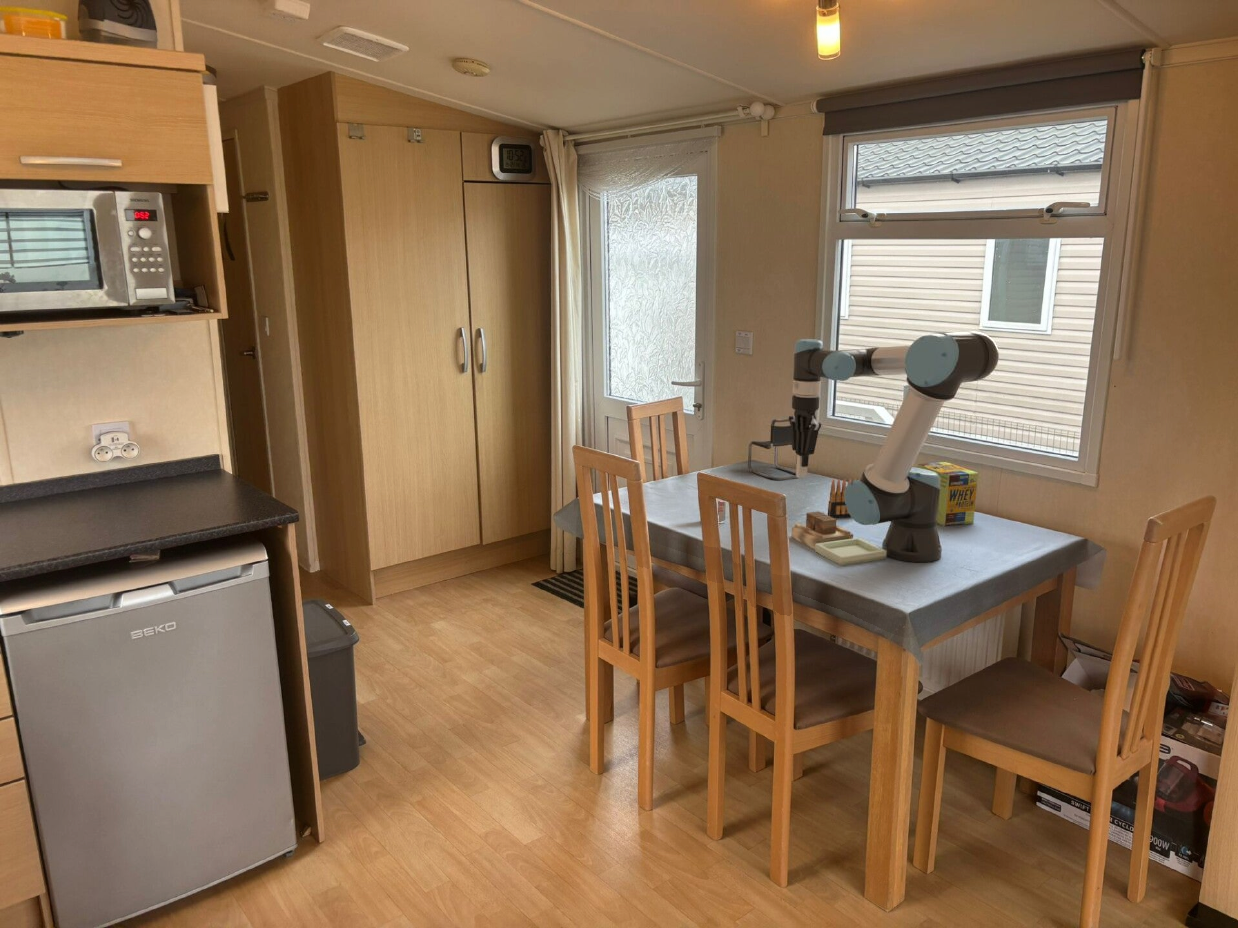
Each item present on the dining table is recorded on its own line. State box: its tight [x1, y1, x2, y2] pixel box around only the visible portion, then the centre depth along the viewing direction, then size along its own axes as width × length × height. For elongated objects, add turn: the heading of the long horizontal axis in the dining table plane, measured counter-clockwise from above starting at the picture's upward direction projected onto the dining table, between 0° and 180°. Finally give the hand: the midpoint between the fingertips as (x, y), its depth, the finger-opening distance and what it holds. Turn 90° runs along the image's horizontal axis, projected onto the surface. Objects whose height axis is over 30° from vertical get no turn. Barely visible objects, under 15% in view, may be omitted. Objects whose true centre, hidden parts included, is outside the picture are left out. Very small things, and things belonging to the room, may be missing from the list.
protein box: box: [916, 461, 979, 527], centre depth 273 cm, size 10×15×16 cm
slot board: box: [790, 523, 854, 550], centre depth 252 cm, size 12×12×4 cm
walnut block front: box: [815, 516, 837, 535], centre depth 250 cm, size 4×4×4 cm
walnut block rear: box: [805, 510, 828, 530], centre depth 254 cm, size 4×4×4 cm
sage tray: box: [814, 537, 887, 566], centre depth 241 cm, size 12×14×2 cm
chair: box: [747, 417, 799, 481], centre depth 325 cm, size 13×17×22 cm
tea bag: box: [718, 501, 726, 522], centre depth 269 cm, size 4×7×10 cm, turn 104°
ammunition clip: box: [826, 478, 857, 520], centre depth 274 cm, size 11×2×12 cm, turn 103°
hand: (801, 476), depth 259 cm, fingers closed
